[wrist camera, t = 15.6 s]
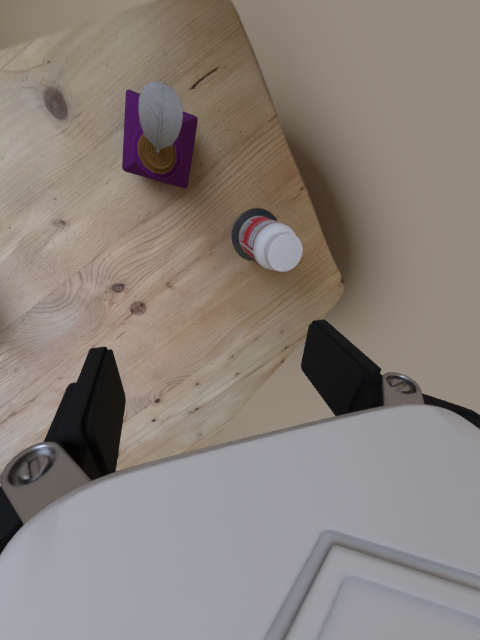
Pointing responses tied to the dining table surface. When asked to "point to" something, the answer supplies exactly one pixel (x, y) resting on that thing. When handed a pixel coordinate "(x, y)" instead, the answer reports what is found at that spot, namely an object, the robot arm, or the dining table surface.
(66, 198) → the dining table surface
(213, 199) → the dining table surface
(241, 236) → the pill bottle
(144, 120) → the perfume bottle
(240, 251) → the coaster
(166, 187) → the dining table surface
